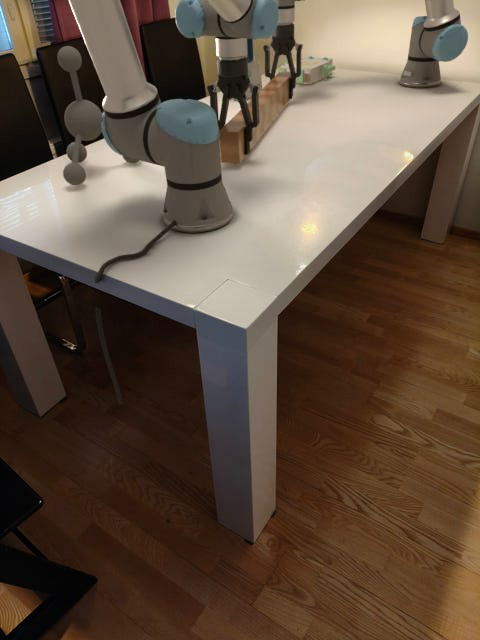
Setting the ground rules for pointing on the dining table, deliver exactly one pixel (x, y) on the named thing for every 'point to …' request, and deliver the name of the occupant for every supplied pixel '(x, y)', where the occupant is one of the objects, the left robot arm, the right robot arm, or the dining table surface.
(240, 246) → the dining table surface
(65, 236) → the dining table surface
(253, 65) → the electronic device
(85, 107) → the molecular model
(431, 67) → the right robot arm
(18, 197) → the dining table surface
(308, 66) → the decorative block
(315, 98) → the dining table surface
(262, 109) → the post
